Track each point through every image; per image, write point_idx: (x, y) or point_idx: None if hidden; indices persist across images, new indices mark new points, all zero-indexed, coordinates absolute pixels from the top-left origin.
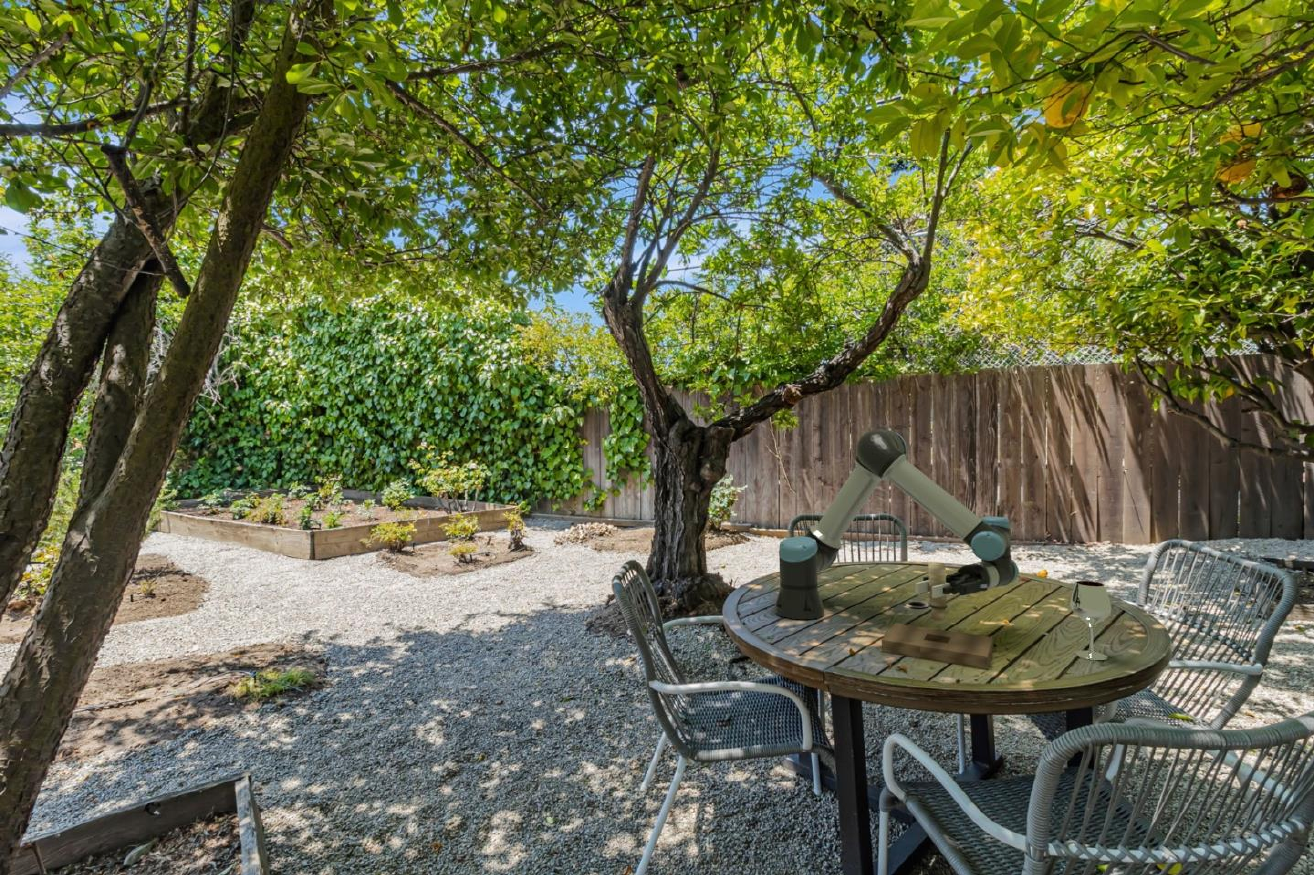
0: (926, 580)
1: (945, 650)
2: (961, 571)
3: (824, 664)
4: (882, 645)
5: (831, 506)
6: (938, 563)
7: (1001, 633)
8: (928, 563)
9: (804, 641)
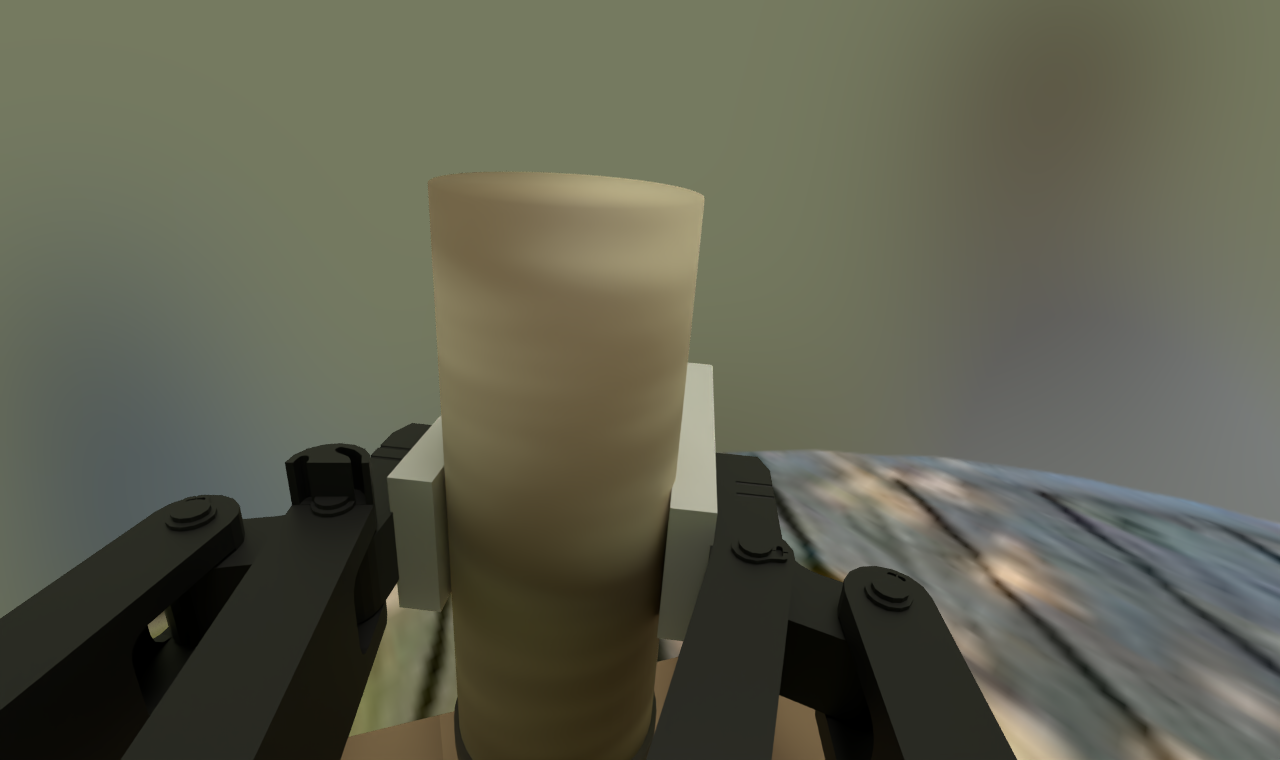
0: (821, 585)
1: (434, 717)
2: None
3: (786, 473)
4: None
5: None
6: (568, 195)
7: None
8: (690, 190)
9: (1053, 569)
